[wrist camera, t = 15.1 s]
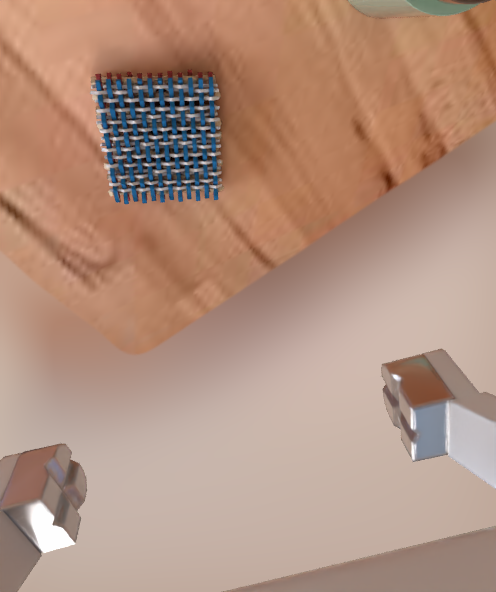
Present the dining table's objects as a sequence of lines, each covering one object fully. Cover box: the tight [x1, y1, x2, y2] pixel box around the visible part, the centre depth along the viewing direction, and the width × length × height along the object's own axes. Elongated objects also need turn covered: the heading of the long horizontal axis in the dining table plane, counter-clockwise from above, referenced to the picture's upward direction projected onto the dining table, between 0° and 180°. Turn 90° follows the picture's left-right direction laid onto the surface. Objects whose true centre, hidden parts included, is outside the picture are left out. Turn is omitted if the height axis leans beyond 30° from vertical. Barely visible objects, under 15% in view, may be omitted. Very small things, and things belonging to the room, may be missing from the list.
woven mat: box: [90, 70, 224, 204], centre depth 38 cm, size 10×11×2 cm
